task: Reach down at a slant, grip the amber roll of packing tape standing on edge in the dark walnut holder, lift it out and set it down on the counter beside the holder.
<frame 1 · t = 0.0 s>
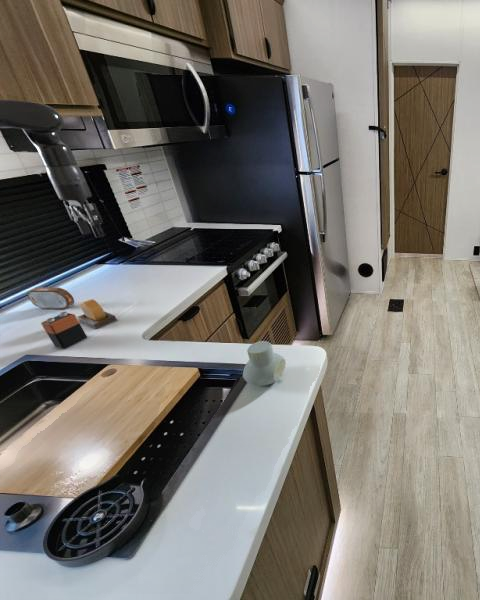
hand: (93, 235, 105), 30 cm above the worktop, tool pointing down, fingers open, 8 cm apart
tape holder: (98, 321, 117), on the worktop
air freshener: (267, 377, 89), on the worktop
tape roll: (93, 311, 115), in the tape holder
battery: (72, 343, 105), on the worktop
tin: (56, 308, 127), on the worktop
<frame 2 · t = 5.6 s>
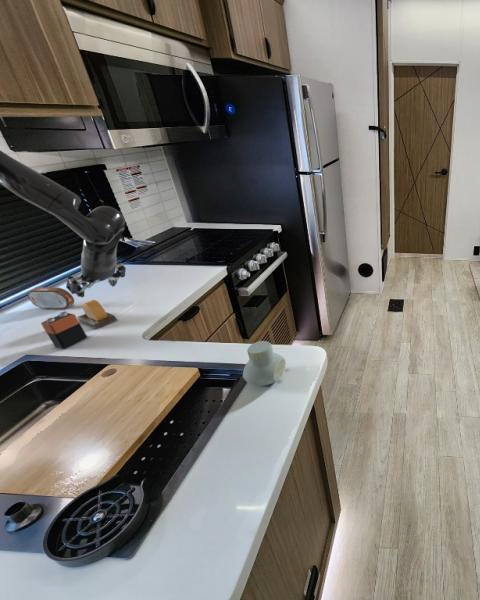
hand: (96, 289, 106), 15 cm above the worktop, tool tilted 45°, fingers open, 8 cm apart
tape roll: (95, 312, 115), resting in tape holder, tilted 16°
everything else where it was.
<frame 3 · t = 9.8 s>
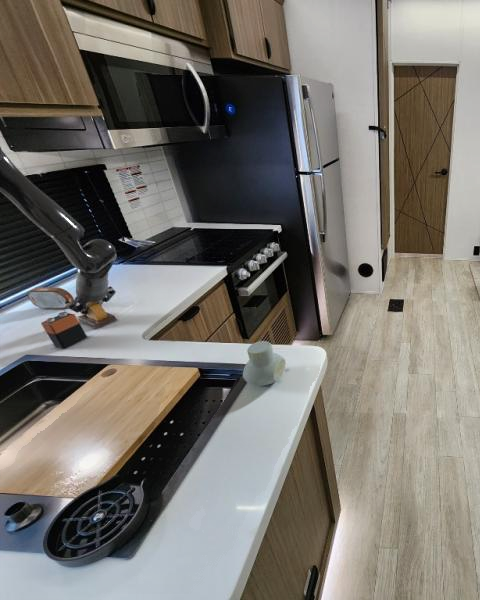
hand: (90, 310, 116), 4 cm above the worktop, tool tilted 45°, fingers closed on tape roll, 3 cm apart
tape roll: (94, 312, 115), resting in tape holder, tilted 16°, touching gripper
everything else where it was.
when the fingers open (4 cm above the worktop, at t = 18.3 s): tape roll stays where it is, on the worktop.
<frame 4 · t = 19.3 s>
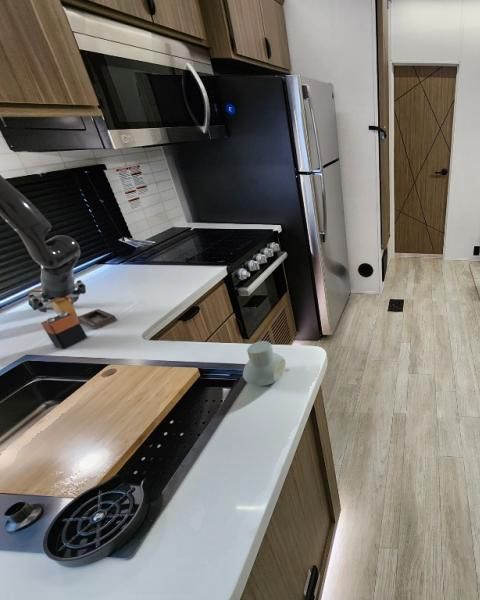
hand: (58, 304, 117), 6 cm above the worktop, tool tilted 45°, fingers open, 8 cm apart
tape roll: (64, 309, 117), on the worktop, tilted 10°
everything else where it was.
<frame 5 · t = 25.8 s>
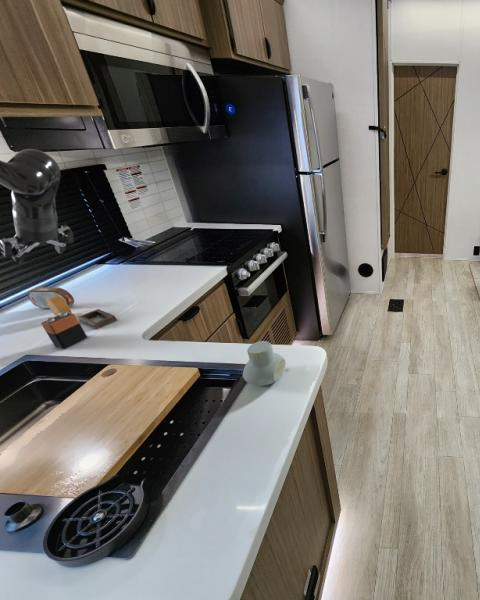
hand: (39, 256, 93), 29 cm above the worktop, tool tilted 45°, fingers open, 8 cm apart
tape roll: (59, 307, 118), on the worktop, tilted 45°
everything else where it was.
at the end: tape roll inside the target area (0.2 cm from its centre), point 4.0 cm above the worktop; tape roll touching worktop; the gripper is holding nothing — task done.
